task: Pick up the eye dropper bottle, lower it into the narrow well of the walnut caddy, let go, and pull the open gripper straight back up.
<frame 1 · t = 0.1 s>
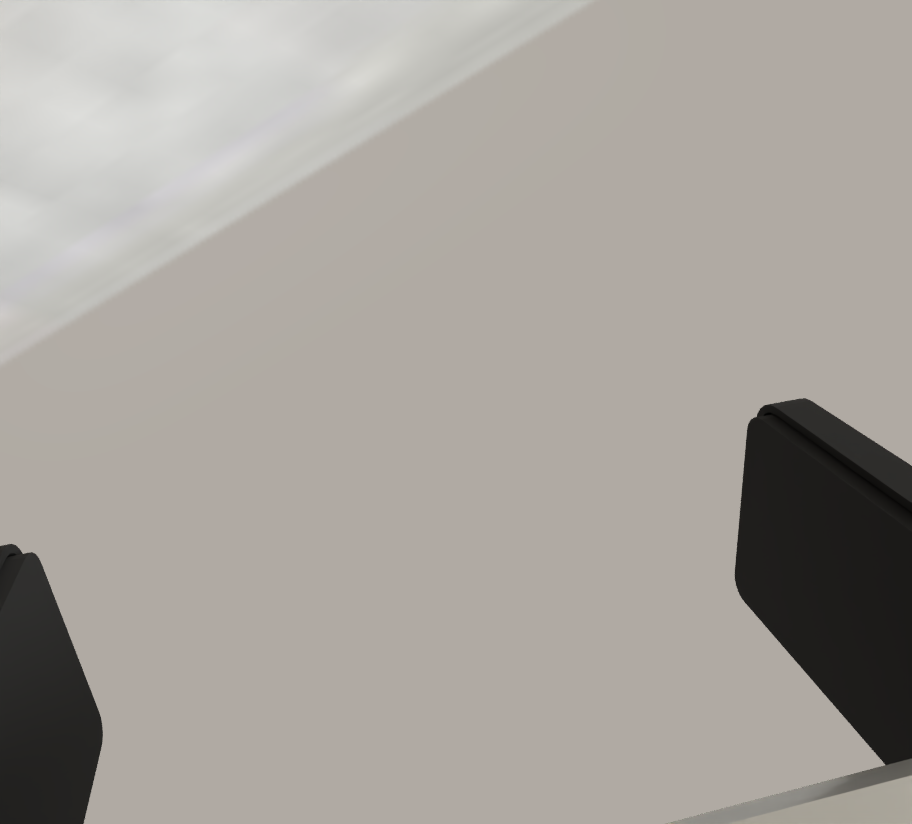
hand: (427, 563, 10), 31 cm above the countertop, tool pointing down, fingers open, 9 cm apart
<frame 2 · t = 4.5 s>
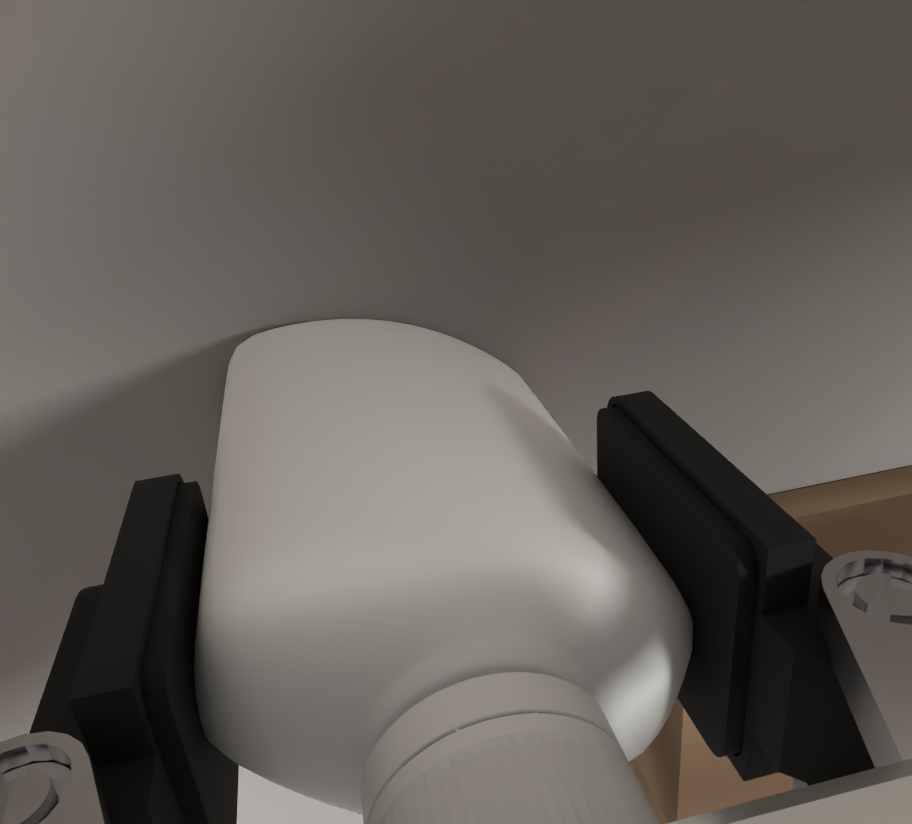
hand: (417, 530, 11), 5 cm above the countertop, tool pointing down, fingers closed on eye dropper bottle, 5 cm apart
eye dropper bottle: (375, 398, 15), on the countertop, touching gripper
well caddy: (819, 721, 22), on the countertop
when the fingers open (7 cm above the countertop, at t = 10.4 s): eye dropper bottle drops 1 cm, resting on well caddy.
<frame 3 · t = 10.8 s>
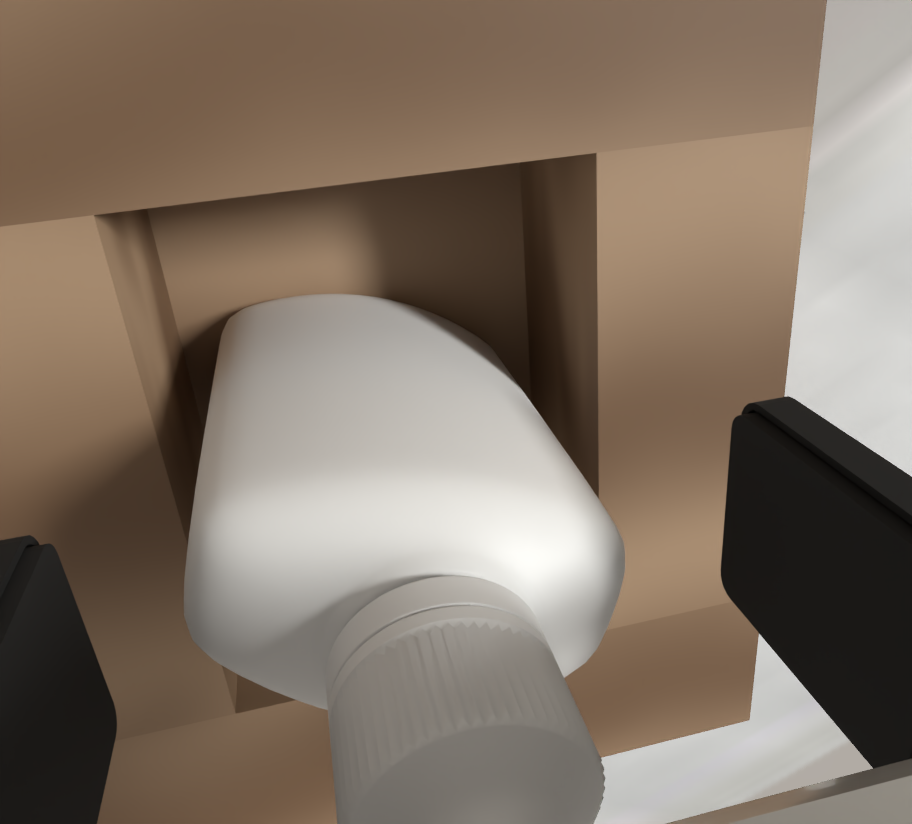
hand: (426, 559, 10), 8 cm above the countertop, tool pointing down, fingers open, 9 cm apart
eye dropper bottle: (358, 368, 16), point 1 cm above the countertop, touching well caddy
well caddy: (362, 357, 17), on the countertop
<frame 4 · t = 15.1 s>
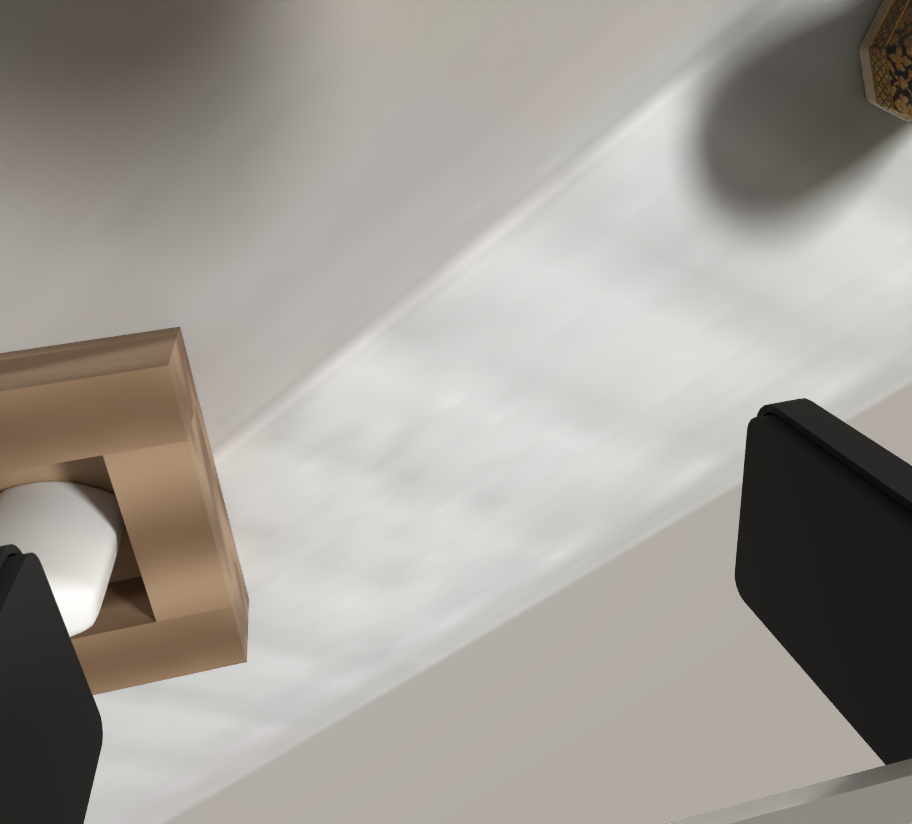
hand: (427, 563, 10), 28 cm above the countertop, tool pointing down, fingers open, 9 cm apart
eye dropper bottle: (65, 508, 38), point 1 cm above the countertop, touching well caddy
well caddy: (73, 500, 39), on the countertop
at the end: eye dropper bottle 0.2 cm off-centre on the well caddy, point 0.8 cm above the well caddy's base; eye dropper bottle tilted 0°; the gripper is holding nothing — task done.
